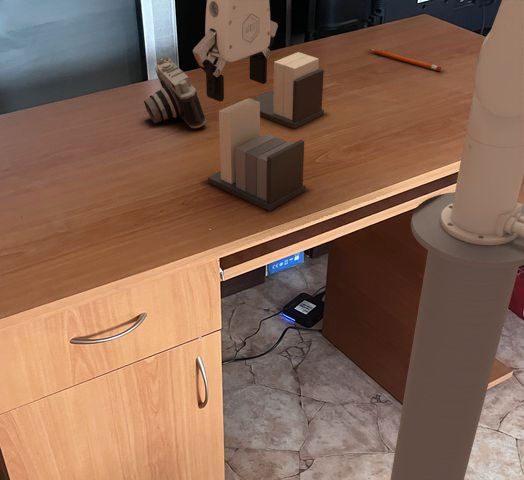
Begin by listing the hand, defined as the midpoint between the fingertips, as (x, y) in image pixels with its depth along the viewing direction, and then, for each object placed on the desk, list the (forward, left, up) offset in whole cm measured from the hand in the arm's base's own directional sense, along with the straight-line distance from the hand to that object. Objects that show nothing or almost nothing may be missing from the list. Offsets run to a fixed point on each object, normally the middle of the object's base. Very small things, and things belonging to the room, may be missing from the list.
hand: (237, 89), depth 124 cm
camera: (+27, -9, -16) cm, 33 cm away
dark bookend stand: (+13, -26, -16) cm, 33 cm away
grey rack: (-4, 0, -16) cm, 16 cm away
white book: (0, 0, -15) cm, 15 cm away
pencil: (+11, -65, -16) cm, 68 cm away
